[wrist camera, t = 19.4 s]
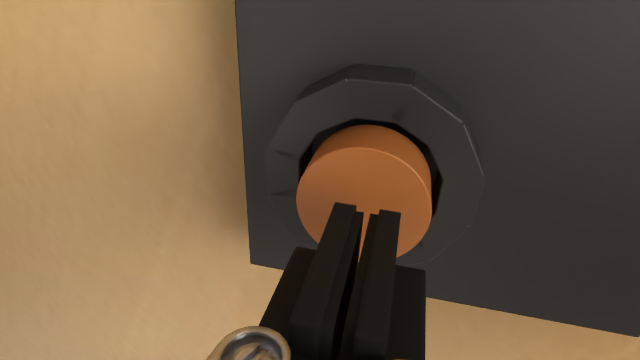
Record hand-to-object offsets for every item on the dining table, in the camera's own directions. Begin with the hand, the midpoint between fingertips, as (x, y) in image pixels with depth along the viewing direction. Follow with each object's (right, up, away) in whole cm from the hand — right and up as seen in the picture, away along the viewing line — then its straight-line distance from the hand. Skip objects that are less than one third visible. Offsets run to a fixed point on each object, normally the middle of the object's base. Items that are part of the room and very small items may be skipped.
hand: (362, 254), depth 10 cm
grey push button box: (+4, +3, +6) cm, 8 cm away
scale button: (+1, +2, +3) cm, 3 cm away
